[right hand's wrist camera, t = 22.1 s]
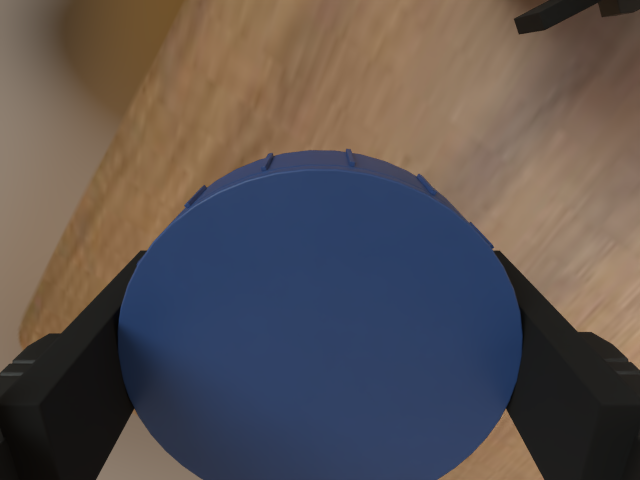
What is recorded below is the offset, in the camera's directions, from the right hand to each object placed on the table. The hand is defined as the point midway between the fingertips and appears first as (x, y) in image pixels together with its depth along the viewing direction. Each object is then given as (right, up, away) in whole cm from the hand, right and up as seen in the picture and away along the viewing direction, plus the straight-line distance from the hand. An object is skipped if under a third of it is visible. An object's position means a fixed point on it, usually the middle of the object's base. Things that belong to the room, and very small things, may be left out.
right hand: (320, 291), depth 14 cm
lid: (0, -1, -3) cm, 3 cm away
